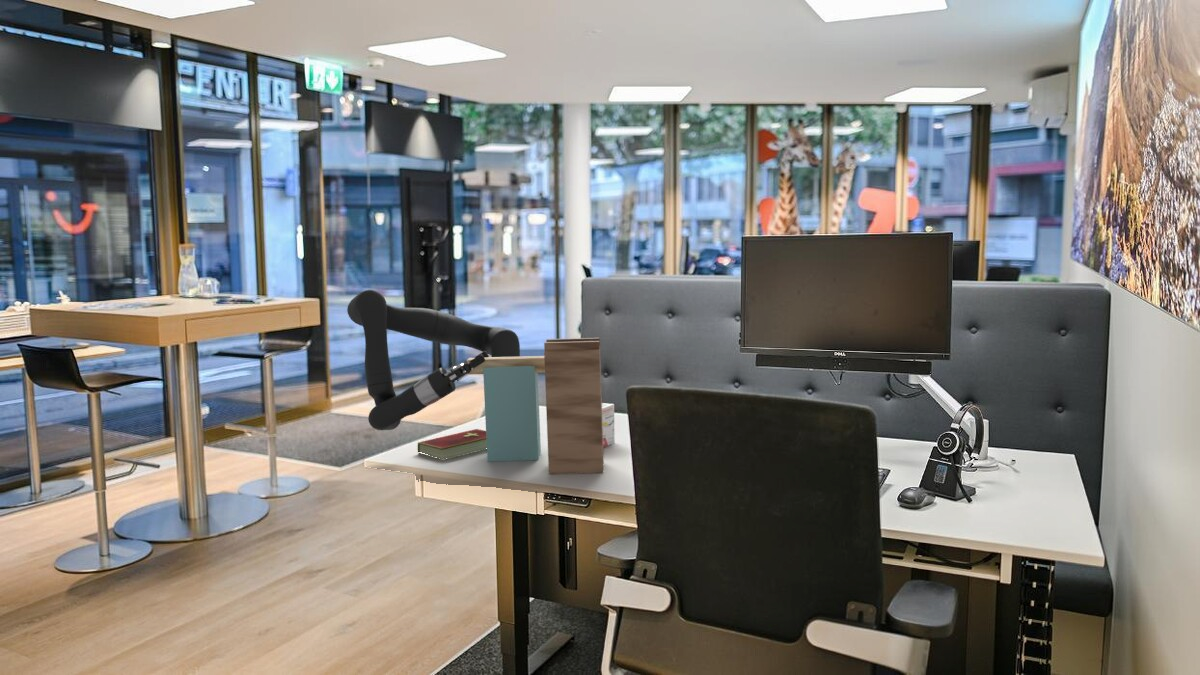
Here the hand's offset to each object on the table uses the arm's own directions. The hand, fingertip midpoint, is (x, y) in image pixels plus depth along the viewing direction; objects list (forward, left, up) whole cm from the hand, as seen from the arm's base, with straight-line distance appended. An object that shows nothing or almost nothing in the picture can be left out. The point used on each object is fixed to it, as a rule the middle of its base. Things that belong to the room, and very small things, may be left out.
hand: (485, 355), depth 237 cm
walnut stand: (+13, +25, -29) cm, 40 cm away
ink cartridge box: (-11, +31, -29) cm, 44 cm away
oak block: (0, +8, -5) cm, 9 cm away
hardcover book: (-10, -10, -29) cm, 33 cm away
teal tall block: (0, +7, -29) cm, 30 cm away
